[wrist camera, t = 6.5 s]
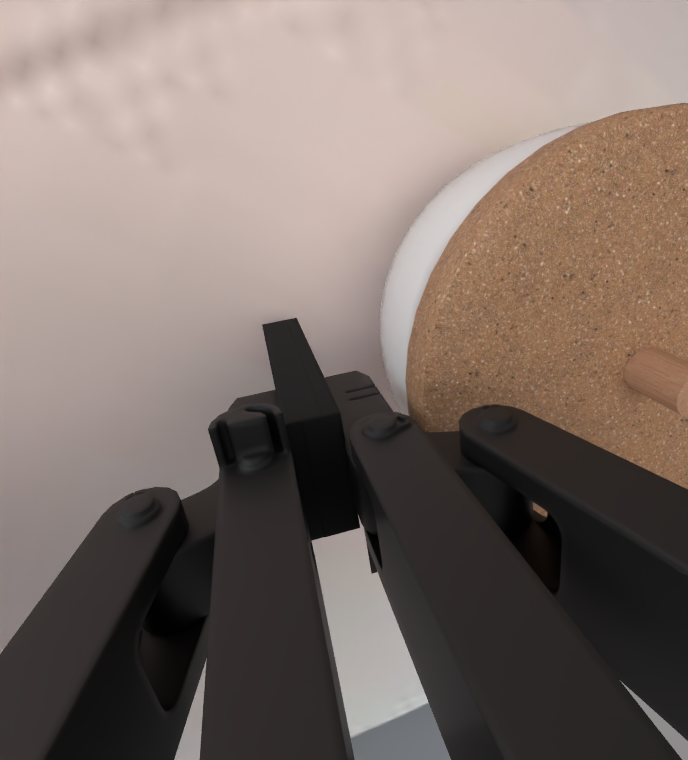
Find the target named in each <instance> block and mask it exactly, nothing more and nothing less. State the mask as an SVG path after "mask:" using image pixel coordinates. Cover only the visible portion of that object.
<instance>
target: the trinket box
mask: <svg viewBox="0 0 688 760" xmlns="http://www.w3.org/2000/svg"><path fill="white" fill-rule="evenodd" d="M380 339H381V348H382V356H383V363H384V368H385V371H386V375H387V378H388V382H389V385H390V389H391V391H392V394H393V396H394V399H395V402H396V404H397V406H398V408H399V410H400V412H401V414H405V415H408V416H410V417H411V418H412V419H414V420H415V421H416V422H417V423H418V425H419V426H420V427H421V428H422V430H423V431H424V432H451V431H459V420H460V418H461V416H462V415H463V414H464V413H466V412H467V411H469V410H471V409H473V408H477V407H481V406H483V405H491V404H499V405H504V406H512V407H515V408H518V409H521V410H524V411H526V412H528V413H530V414H532V415H534V416H536V417H538V418H540V419H542V420H544V421H546V422H549V423H551V424H553V425H555V426H557V427H559V428H561V429H563V430H565V431H567V432H569V433H571V434H574V435H576V436H578V437H580V438H582V439H584V440H586V441H588V442H590V443H592V444H594V445H596V446H599V447H601V448H603V449H605V450H607V451H609V452H611V453H613V454H615V455H617V456H619V457H621V458H623V459H626V460H628V461H630V462H632V463H634V464H636V465H638V466H640V467H642V468H644V469H646V470H648V471H651V472H653V473H655V474H657V475H659V476H661V477H663V478H665V479H667V480H669V481H671V482H673V483H675V484H678V485H680V486H682V487H684V488H686V489H688V103H681V104H672V105H666V106H659V107H652V108H645V109H639V110H632V111H626V112H621V113H618V114H614V115H612V116H609V117H606V118H603V119H600V120H597V121H594V122H591V123H584V124H578V125H573V126H568V127H563V128H558V129H555V130H552V131H549V132H546V133H543V134H540V135H538V136H535V137H532V138H529V139H526V140H523V141H520V142H518V143H515V144H512V145H509V146H507V147H505V148H503V149H501V150H500V151H498V152H496V153H494V154H492V155H490V156H488V157H487V158H485V159H483V160H481V161H479V162H478V163H476V164H474V165H473V166H471V167H470V168H468V169H467V170H465V171H464V172H463V173H461V174H460V175H459V176H458V177H456V178H455V179H454V180H452V181H451V182H450V183H448V184H447V185H446V186H445V187H444V188H443V189H442V190H441V191H440V192H439V193H438V194H437V195H436V196H435V197H434V198H433V199H432V200H431V201H430V202H429V203H428V204H427V205H426V206H425V207H424V209H423V210H422V212H421V213H420V214H419V216H418V217H417V218H416V220H415V221H414V223H413V224H412V225H411V227H410V228H409V229H408V231H407V233H406V235H405V237H404V239H403V241H402V242H401V244H400V246H399V248H398V250H397V252H396V254H395V256H394V259H393V262H392V265H391V267H390V270H389V273H388V276H387V278H386V282H385V287H384V292H383V297H382V302H381V310H380ZM533 510H535V511H536V512H538V513H539V514H541V515H543V516H545V517H547V511H545V510H544V509H543V508H541V507H540V506H538V505H537V504H536V503H534V502H533Z"/></svg>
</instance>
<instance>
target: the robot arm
mask: <svg viewBox="0 0 688 760" xmlns="http://www.w3.org/2000/svg"><path fill="white" fill-rule="evenodd" d="M262 326H263V331H264V336H265V341H266V345H267V350H268V355H269V360H270V365H271V370H272V375H273V379H274V384H275V389H276V390H272V391H268V392H263V393H259V394H254V395H250V396H245V397H241V398H237V399H236V400H235V401H234V403H233V404H232V405H231V407H230V408H229V409H228V411H227V412H225V413H223V414H221V415H219V416H218V417H217V418H216V419H214V420H213V421H212V422H211V424H210V426H209V428H208V431H209V434H210V438H211V441H212V444H213V447H214V451H215V454H216V457H217V461H218V464H219V467H220V472H219V479H218V480H217V481H216V482H215V483H213V484H212V485H211V486H209V487H208V488H206V489H204V490H202V491H200V492H199V493H197V494H194V495H192V496H190V497H188V498H185V499H183V500H181V499H180V497H179V495H178V493H177V491H174V490H172V489H170V488H166V487H154V488H149V489H142V490H139V491H136V492H135V493H131V494H129V495H127V496H125V497H124V498H122V499H121V500H119V501H118V502H116V503H115V504H113V505H112V506H111V507H110V508H109V509H108V510H107V511H106V512H105V513H104V514H103V515H102V516H101V518H100V519H99V520H98V522H97V523H96V524H95V526H94V527H93V529H92V530H91V531H90V533H89V534H88V535H87V537H86V538H85V539H84V541H83V542H82V544H81V545H80V546H79V548H78V549H77V550H76V552H75V553H74V554H73V556H72V557H71V559H70V560H69V561H68V563H67V564H66V565H65V567H64V568H63V570H62V571H61V572H60V574H59V575H58V576H57V578H56V579H55V580H54V582H53V583H52V585H51V586H50V587H49V589H48V590H47V591H46V593H45V594H44V595H43V597H42V598H41V600H40V601H39V602H38V604H37V605H36V606H35V608H34V609H33V611H32V612H31V613H30V615H29V616H28V617H27V619H26V620H25V621H24V623H23V624H22V626H21V627H20V628H19V630H18V631H17V632H16V634H15V635H14V636H13V638H12V639H11V641H10V642H9V643H8V645H7V646H6V647H5V649H4V650H3V652H2V653H1V654H0V760H174V758H175V755H176V752H177V749H178V745H179V742H180V739H181V736H182V733H183V730H184V727H185V724H186V720H187V717H188V714H189V711H190V708H191V705H192V702H193V699H194V695H195V692H196V689H197V686H198V683H199V680H200V677H201V674H202V670H203V667H204V664H205V661H206V658H207V661H206V676H205V691H204V705H203V720H202V734H201V749H200V760H354V755H353V750H352V744H351V740H350V734H349V729H348V724H347V719H346V714H345V708H344V703H343V698H342V693H341V688H340V683H339V678H338V672H337V667H336V662H335V657H334V652H333V647H332V642H331V637H330V631H329V626H328V621H327V616H326V611H325V606H324V601H323V595H322V590H321V585H320V580H319V575H318V570H317V565H316V559H315V555H314V551H313V546H312V542H311V540H315V539H318V538H322V537H327V536H331V535H335V534H339V533H342V532H346V531H350V530H353V529H357V528H360V524H359V518H360V520H361V523H362V525H363V526H364V530H365V536H366V542H367V548H368V554H369V560H370V566H371V572H372V573H375V572H377V571H378V574H379V577H380V579H381V582H382V584H383V587H384V589H385V592H386V594H387V597H388V600H389V602H390V605H391V607H392V610H393V612H394V615H395V617H396V620H397V623H398V625H399V628H400V630H401V633H402V635H403V638H404V640H405V643H406V645H407V648H408V651H409V653H410V656H411V658H412V661H413V663H414V666H415V668H416V671H417V674H418V676H419V679H420V681H421V684H422V686H423V689H424V691H425V694H426V697H427V699H428V702H429V704H430V707H431V709H432V712H433V714H434V717H435V719H436V722H437V724H438V727H439V730H440V732H441V735H442V737H443V740H444V742H445V745H446V748H447V750H448V753H449V755H450V758H451V760H682V759H681V758H680V757H679V755H678V754H677V753H676V751H675V750H674V749H673V748H672V746H671V745H670V744H669V743H668V741H667V740H666V739H665V737H664V736H663V735H662V734H661V732H660V731H659V730H658V729H657V727H656V726H655V725H654V724H653V722H652V721H651V720H650V718H649V717H648V716H647V715H646V713H645V712H644V711H643V709H642V708H641V707H640V706H639V705H638V703H637V702H636V701H635V699H634V698H633V697H632V695H631V694H630V693H629V692H628V691H627V689H626V688H625V687H624V685H623V684H622V683H621V682H620V681H622V682H623V683H624V684H625V685H626V686H627V687H628V688H629V689H631V690H632V691H633V692H634V693H635V694H636V695H637V696H639V697H640V698H641V699H642V700H643V701H644V702H645V703H646V704H647V705H649V707H651V708H652V709H653V710H654V711H655V712H656V713H657V714H658V715H660V716H661V717H662V718H663V719H664V720H665V721H666V722H668V723H669V724H670V725H671V726H672V727H673V728H674V729H675V730H677V732H679V733H680V734H681V735H682V736H683V737H684V738H685V739H686V740H688V489H686V488H684V487H682V486H680V485H678V484H675V483H673V482H671V481H669V480H667V479H665V478H663V477H661V476H659V475H657V474H655V473H653V472H651V471H648V470H646V469H644V468H642V467H640V466H638V465H636V464H634V463H632V462H630V461H628V460H626V459H623V458H621V457H619V456H617V455H615V454H613V453H611V452H609V451H607V450H605V449H603V448H601V447H599V446H596V445H594V444H592V443H590V442H588V441H586V440H584V439H582V438H580V437H578V436H576V435H574V434H571V433H569V432H567V431H565V430H563V429H561V428H559V427H557V426H555V425H553V424H551V423H549V422H546V421H544V420H542V419H540V418H538V417H536V416H534V415H532V414H530V413H528V412H526V411H524V410H521V409H518V408H515V407H512V406H504V405H499V404H491V405H483V406H481V407H477V408H473V409H471V410H469V411H467V412H466V413H464V414H463V415H462V416H461V418H460V420H459V431H451V432H424V431H423V430H422V428H421V427H420V426H419V425H418V423H417V422H416V421H415V420H414V419H412V418H411V417H410V416H408V415H405V414H401V413H398V412H393V410H392V409H391V408H390V406H389V405H388V403H387V402H386V400H385V399H384V397H383V396H382V395H381V394H380V392H379V390H378V389H377V387H375V384H374V383H373V382H372V380H371V379H370V377H369V376H367V375H365V374H363V373H360V372H358V371H352V372H347V373H343V374H338V375H334V376H329V377H325V378H324V376H323V374H322V372H321V370H320V367H319V365H318V363H317V361H316V359H315V357H314V355H313V352H312V350H311V348H310V346H309V344H308V342H307V340H306V337H305V335H304V333H303V331H302V329H301V327H300V325H299V322H298V320H297V318H294V319H289V320H283V321H278V322H274V323H269V324H264V325H262ZM533 502H534V503H536V504H537V505H538V506H540V507H541V508H543V509H544V510H545V511H547V517H545V516H543V515H541V514H539V513H538V512H536V511H535V510H533ZM358 515H359V518H358Z"/></svg>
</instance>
